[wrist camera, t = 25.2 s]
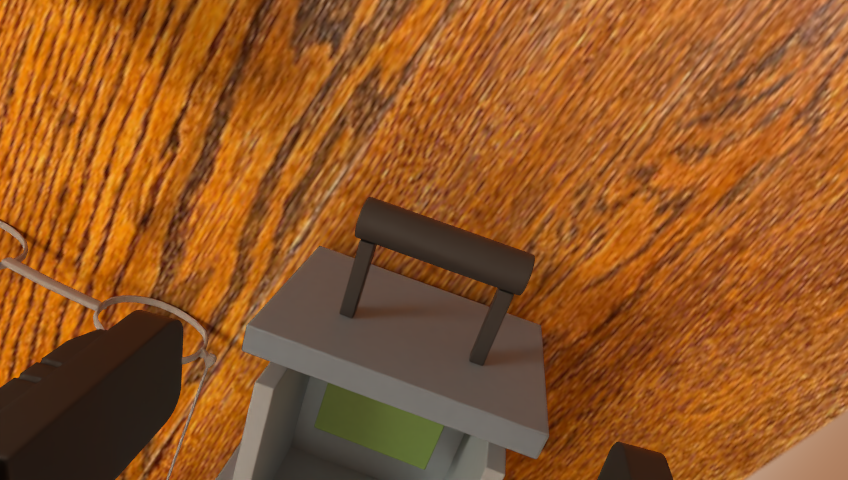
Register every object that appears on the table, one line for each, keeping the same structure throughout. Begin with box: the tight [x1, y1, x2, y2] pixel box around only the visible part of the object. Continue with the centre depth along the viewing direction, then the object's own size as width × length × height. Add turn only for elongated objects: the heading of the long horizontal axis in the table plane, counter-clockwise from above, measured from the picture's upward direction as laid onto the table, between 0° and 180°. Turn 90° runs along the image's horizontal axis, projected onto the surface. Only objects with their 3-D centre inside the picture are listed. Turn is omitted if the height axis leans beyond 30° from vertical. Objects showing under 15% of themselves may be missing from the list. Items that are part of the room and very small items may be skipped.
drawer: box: [233, 197, 549, 480], centre depth 24 cm, size 18×11×8 cm, turn 162°
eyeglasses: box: [0, 220, 216, 480], centre depth 32 cm, size 18×19×4 cm
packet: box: [314, 383, 444, 470], centre depth 26 cm, size 6×4×3 cm
